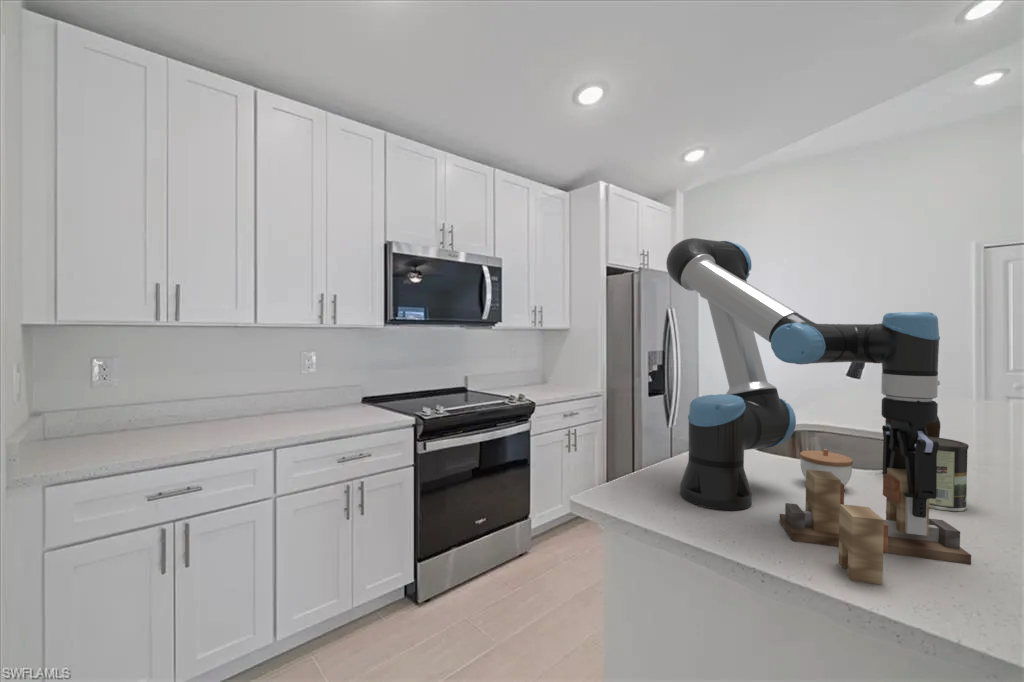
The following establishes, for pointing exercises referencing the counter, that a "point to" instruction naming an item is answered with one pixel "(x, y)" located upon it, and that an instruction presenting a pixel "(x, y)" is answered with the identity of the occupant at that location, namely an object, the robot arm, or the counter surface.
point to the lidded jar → (827, 463)
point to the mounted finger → (824, 500)
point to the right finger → (897, 497)
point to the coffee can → (951, 475)
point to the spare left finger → (862, 543)
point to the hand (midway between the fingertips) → (906, 526)
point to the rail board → (934, 546)
